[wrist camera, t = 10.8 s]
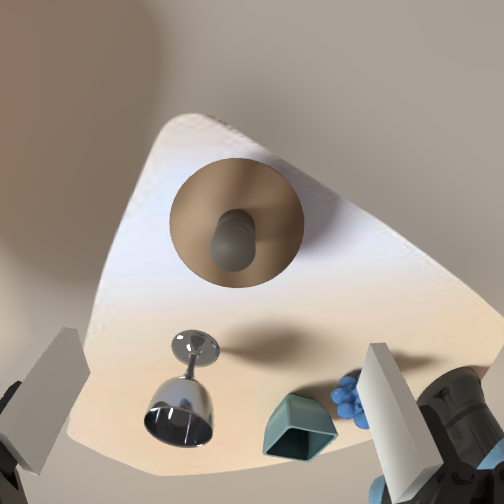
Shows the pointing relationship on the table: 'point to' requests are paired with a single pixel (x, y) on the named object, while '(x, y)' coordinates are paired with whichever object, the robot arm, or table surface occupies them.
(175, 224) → the lid
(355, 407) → the grapes
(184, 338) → the wine glass
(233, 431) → the table surface
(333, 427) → the flower pot
